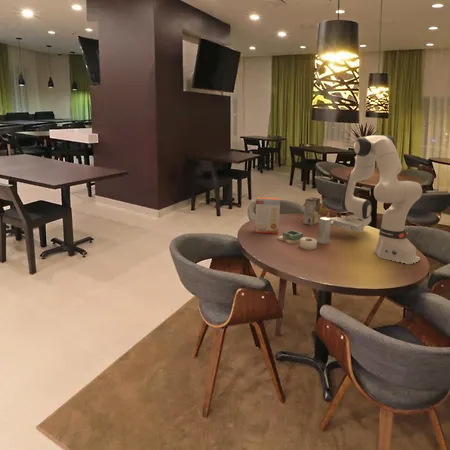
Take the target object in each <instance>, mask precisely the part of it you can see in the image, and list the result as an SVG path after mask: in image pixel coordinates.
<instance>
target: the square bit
mask: <svg viewBox="0 0 450 450" xmlns="http://www.w3.org/2000/svg"><path fill="white" fill-rule="evenodd" d="M330 218H331V217H326V216H324V217H319V219H318V229H317V230H318V232H317V239H316V240H317V244H318V243H319V244H322V245H326V244H329V242H330V235H331V234H330V233H331V227H332V226H331V219H330Z"/></svg>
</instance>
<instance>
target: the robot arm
mask: <svg viewBox="0 0 450 450" xmlns="http://www.w3.org/2000/svg"><path fill="white" fill-rule="evenodd" d="M353 152H354V153H355V154H356V155H355V162H354V168H353V169H352V170H351V171H350V172H349V174H348V177H347V181H346V183H345V184H346V185H345V189H344V193H343V196H342V199H341V202H340V206H341V208H342V210H343V211H344V212H349V213H353V214H349V215H346V216H345V217H344V218H343V217H338V216H336V217H335V216H334V217H329V218H330V219H331V227H333V226H335V227H338V228H342V230H344V231H347V230H348V231H351V232H354V233H360V232H363V231H364V230H365V227H367V226H368V225H369V224H371V222H372V211H373V206H372V203H371V201H370V200H368V199H365V198H362V197H361V198H360V197H357V196H355V195H354V192H355V189H356V184H357V183H358V182H359V181H364V180H367V179H370V178H371V177H372V176H374V173H375V169H376V164H377V168H378V171H379V180H378V183H377V184H376V185H375V186H374V188H373V196H374V199H375V200H376V201H377V202H379V203H383V204H384V203H385V204H390V206H389V208H387V209H386V210H384V211H383V214H382V221H381V225H380V228H379V233H378V234H379V236H378V241H377V244H376V247H375V249H374V254H375V255H376V256H377V258H380V259H383V260H388V261H391V260H392V261H391V262H395V261H396V263H399V262H401V263H400V264H403V263H405V264H404V265H413V263H414V264H417V263H419V262H420V261H421V257H420V256H418V255H417V248H416V246H415V245H414V244H413V243H412V242H411V241H410V240H409V239H408V238H407V235H409V232H408V231H407V232H406V231H405V224H406V220H407V216H408V214H409V212H410V209H411V208H412V206H413V205H414V204H415V203H416V202H417V201H418V200H420V198H421V197H422V195H423V188H422V185H421V184H420V183H419V182H418V181H417V182H416V181H413V180H399V179H398V175H399V174H400V173H401V172H402V169H403V165H402V163H401V162H402V161H401V159H400V156H399V153H398V151H397V148H396V141H395V139H394V137H393V136H391V135H389V134H387V135H386V134H384V135H367V136H360V137H357V138H356V139H355V141H354V143H353ZM419 260H420V261H419ZM418 261H419V262H418ZM416 262H417V263H416Z"/></svg>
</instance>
